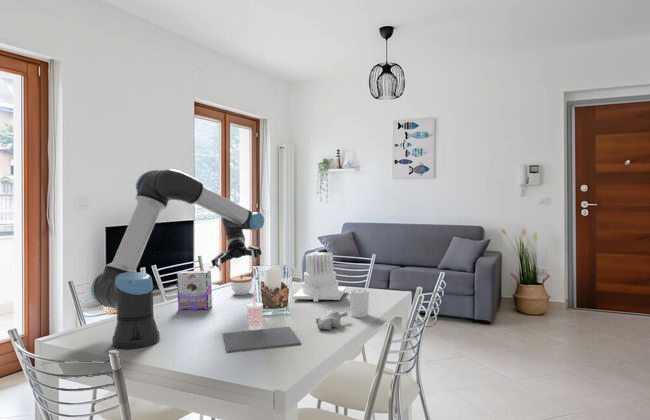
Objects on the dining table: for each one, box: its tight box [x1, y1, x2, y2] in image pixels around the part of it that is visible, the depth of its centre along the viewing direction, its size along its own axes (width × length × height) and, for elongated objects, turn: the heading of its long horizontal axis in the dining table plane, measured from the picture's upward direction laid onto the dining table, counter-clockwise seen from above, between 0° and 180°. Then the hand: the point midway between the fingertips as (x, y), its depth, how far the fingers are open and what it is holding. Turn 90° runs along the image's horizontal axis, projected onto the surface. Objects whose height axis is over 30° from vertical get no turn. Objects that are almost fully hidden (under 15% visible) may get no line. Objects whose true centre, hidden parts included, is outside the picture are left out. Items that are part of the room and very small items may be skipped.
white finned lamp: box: [292, 251, 347, 303], centre depth 226 cm, size 25×22×21 cm
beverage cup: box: [246, 290, 264, 331], centre depth 175 cm, size 6×6×14 cm
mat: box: [222, 326, 302, 354], centre depth 162 cm, size 20×24×1 cm
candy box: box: [176, 270, 213, 311], centre depth 209 cm, size 14×6×16 cm, turn 84°
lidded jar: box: [230, 274, 253, 296], centre depth 238 cm, size 11×11×9 cm
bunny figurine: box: [315, 310, 349, 331], centre depth 176 cm, size 10×5×15 cm
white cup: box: [349, 288, 370, 319], centre depth 190 cm, size 8×8×10 cm
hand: (236, 263), depth 185 cm, fingers open, 13 cm apart
